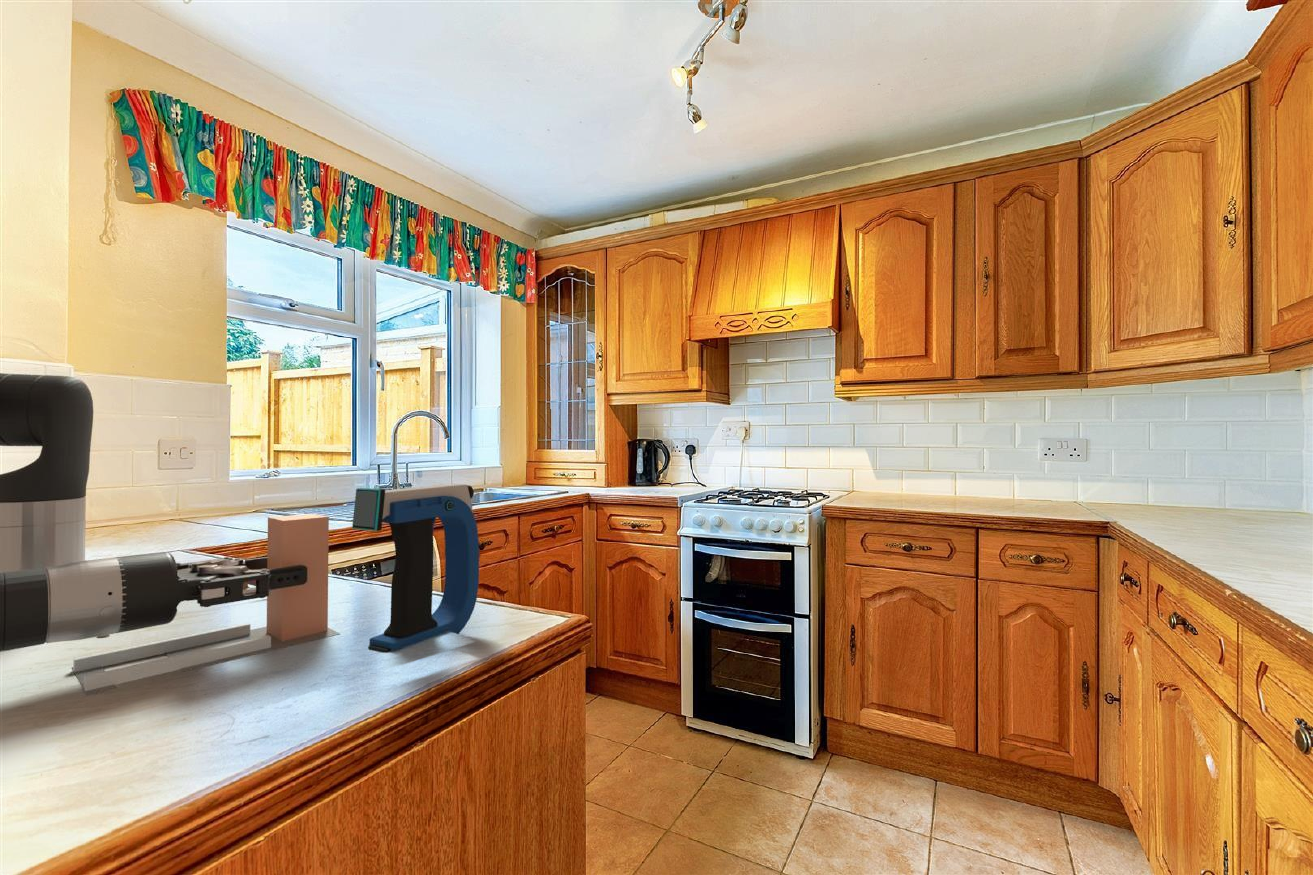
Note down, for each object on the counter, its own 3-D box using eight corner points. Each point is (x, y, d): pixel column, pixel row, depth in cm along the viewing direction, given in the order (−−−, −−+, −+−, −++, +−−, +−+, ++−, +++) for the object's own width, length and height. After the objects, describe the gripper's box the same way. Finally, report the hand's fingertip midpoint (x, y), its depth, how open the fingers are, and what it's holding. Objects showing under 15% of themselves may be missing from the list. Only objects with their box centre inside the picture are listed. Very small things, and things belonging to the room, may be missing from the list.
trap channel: (71, 682, 59) (71, 655, 59) (307, 629, 76) (307, 608, 76) (86, 710, 53) (87, 681, 53) (340, 646, 70) (340, 623, 70)
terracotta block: (266, 632, 70) (267, 517, 70) (311, 622, 74) (312, 513, 74) (281, 641, 67) (282, 520, 67) (327, 630, 71) (328, 516, 71)
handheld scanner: (345, 665, 64) (349, 487, 64) (454, 624, 78) (457, 480, 78) (374, 673, 62) (378, 490, 62) (480, 630, 76) (483, 481, 76)
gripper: (125, 567, 53) (316, 544, 66) (100, 549, 62) (272, 532, 75) (124, 649, 53) (315, 610, 66) (99, 619, 62) (272, 590, 75)
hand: (292, 568), depth 70 cm, fingers open, 8 cm apart
